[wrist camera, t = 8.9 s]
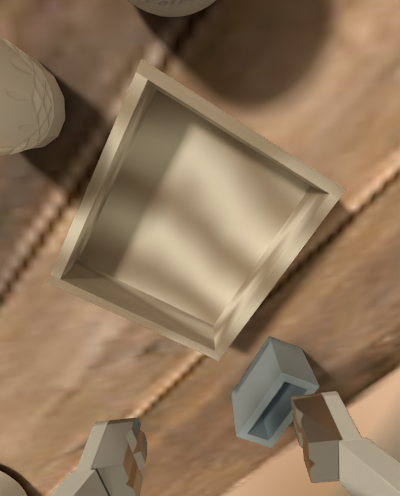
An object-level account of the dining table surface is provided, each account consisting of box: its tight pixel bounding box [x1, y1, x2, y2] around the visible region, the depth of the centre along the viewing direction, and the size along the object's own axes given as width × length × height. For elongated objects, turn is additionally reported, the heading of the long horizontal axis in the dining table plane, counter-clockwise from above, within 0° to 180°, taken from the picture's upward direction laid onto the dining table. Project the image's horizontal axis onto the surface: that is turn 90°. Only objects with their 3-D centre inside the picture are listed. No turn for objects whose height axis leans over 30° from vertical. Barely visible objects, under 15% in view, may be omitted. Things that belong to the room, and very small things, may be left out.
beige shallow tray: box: [47, 59, 346, 361], centre depth 24 cm, size 18×16×4 cm
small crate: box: [231, 337, 320, 448], centre depth 29 cm, size 9×4×5 cm, turn 156°
